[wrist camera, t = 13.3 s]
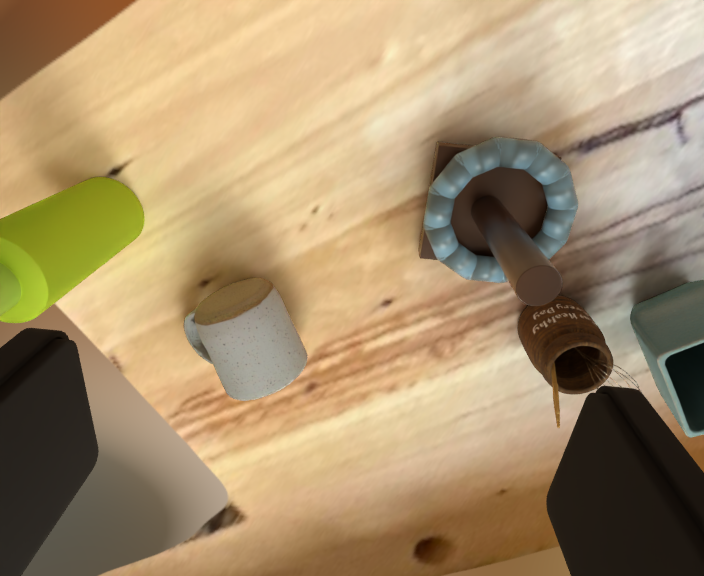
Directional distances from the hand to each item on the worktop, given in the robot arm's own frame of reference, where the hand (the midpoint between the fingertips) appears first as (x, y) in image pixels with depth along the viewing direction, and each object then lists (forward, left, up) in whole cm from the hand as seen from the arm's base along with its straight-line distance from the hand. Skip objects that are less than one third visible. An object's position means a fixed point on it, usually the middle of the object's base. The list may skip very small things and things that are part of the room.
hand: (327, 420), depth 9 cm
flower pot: (+28, -12, -31) cm, 43 cm away
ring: (+11, -4, -28) cm, 30 cm away
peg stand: (+10, -4, -30) cm, 32 cm away
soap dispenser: (-21, -8, -31) cm, 38 cm away
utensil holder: (+18, -14, -31) cm, 38 cm away
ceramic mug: (-9, -17, -31) cm, 36 cm away
